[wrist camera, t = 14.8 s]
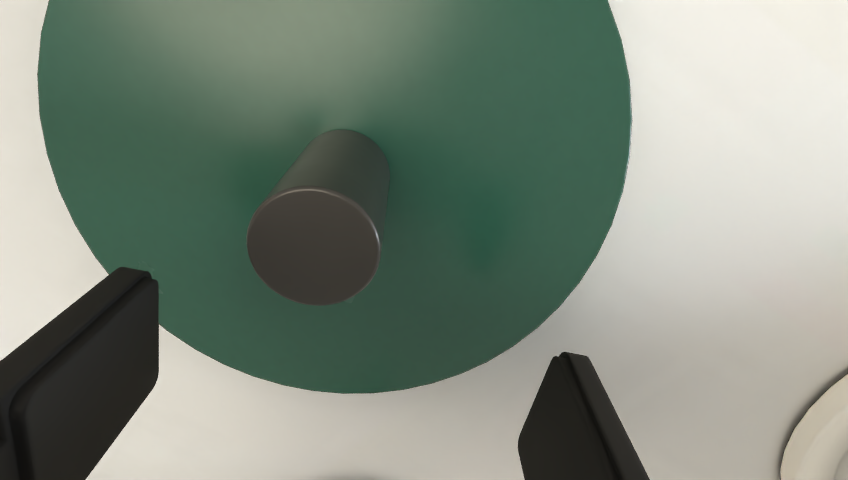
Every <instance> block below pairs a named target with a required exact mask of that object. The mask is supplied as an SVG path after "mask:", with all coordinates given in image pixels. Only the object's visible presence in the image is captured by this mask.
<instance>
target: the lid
mask: <svg viewBox="0 0 848 480" xmlns="http://www.w3.org/2000/svg"><path fill="white" fill-rule="evenodd" d="M37 75H38V94H39V112H40V120H41V125H42V130H43V135H44V140H45V146H46V151H47V155H48V158H49V161H50V164H51V168H52V171H53V174H54V177H55V180H56V183H57V186H58V189H59V192H60V194H61V196H62V198H63V200H64V202H65V204H66V207H67V209H68V211H69V213H70V215H71V217H72V219H73V221H74V224H75V226H76V227H77V229H78V230H79V232H80V234H81V235H82V237H83V238H84V240H85V242H86V243H87V245H88V246H89V248H90V250H91V251H92V253H93V254H94V256H95V257H96V259H97V260H98V261H99V262H100V264H101V265H102V266H103V268H104V269H105V270H106V271H107V273H108V274H109V275H110V274H111V273H112V272H113V271H115V270H116V269H117V268H119V267H127V268H132V269H138V270H143V271H148V272H149V273H150V274H151V276H152V279H155V280H157V281H158V285H159V324H160V325H161V326H162V327H163V328H165V329H166V330H167V331H168V332H170V333H171V334H173V335H174V336H176V337H177V338H179V339H180V340H182V341H183V342H185V343H186V344H188V345H189V346H191V347H192V348H194V349H196V350H197V351H199V352H201V353H203V354H205V355H207V356H209V357H211V358H213V359H215V360H216V361H218V362H220V363H222V364H224V365H227V366H229V367H231V368H234V369H236V370H239V371H241V372H244V373H246V374H249V375H251V376H254V377H257V378H261V379H264V380H267V381H271V382H274V383H278V384H281V385H285V386H290V387H296V388H301V389H306V390H311V391H321V392H332V393H343V394H345V393H379V392H388V391H397V390H404V389H409V388H413V387H418V386H423V385H427V384H432V383H435V382H438V381H441V380H444V379H447V378H450V377H453V376H456V375H459V374H461V373H464V372H466V371H468V370H470V369H472V368H475V367H477V366H479V365H481V364H483V363H486V362H488V361H489V360H491V359H493V358H494V357H496V356H498V355H499V354H501V353H503V352H504V351H506V350H508V349H509V348H511V347H513V346H514V345H515V344H517V343H518V342H519V341H521V340H522V339H523V338H525V337H526V336H527V335H529V334H530V333H531V332H533V331H534V330H535V329H537V328H538V327H539V326H540V325H541V324H542V323H543V322H544V321H545V320H546V319H547V318H548V317H549V316H550V315H551V314H552V313H553V312H554V311H556V310H557V309H558V308H559V307H560V305H561V304H562V303H563V302H564V301H565V299H566V298H567V297H568V296H569V295H570V293H571V292H572V291H573V290H574V289H575V287H576V286H577V285H578V284H579V282H580V281H581V279H582V278H583V276H584V275H585V273H586V272H587V270H588V268H589V267H590V265H591V264H592V262H593V261H594V259H595V258H596V256H597V254H598V252H599V250H600V248H601V246H602V244H603V242H604V240H605V238H606V236H607V233H608V231H609V229H610V227H611V225H612V222H613V219H614V216H615V213H616V210H617V207H618V204H619V201H620V198H621V195H622V192H623V188H624V183H625V178H626V173H627V168H628V162H629V157H630V144H631V129H632V110H631V94H630V80H629V75H628V70H627V65H626V60H625V55H624V50H623V45H622V40H621V37H620V34H619V31H618V28H617V26H616V23H615V20H614V17H613V14H612V11H611V8H610V6H609V3H608V0H49V3H48V7H47V11H46V15H45V19H44V23H43V27H42V31H41V40H40V51H39V63H38V74H37Z"/></svg>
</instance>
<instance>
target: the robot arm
mask: <svg viewBox="0 0 848 480" xmlns="http://www.w3.org/2000/svg"><path fill="white" fill-rule="evenodd" d="M158 372H159V285H158V281H157V280H155V279H152V276H151V274H150V273H149V272H148V271H143V270H138V269H132V268H127V267H119V268H117V269H116V270H115V271H113V272H112V273H111V274H110V275H108V276H107V277H106V278H105V279H103V280H102V281H101V282H100V283H98V284H97V285H96V286H95V287H93V288H92V289H91V290H90V291H88V292H87V293H86V294H84V295H83V296H82V297H81V298H79V299H78V300H77V301H76V302H74V303H73V304H72V305H71V306H69V307H68V308H67V309H66V310H64V311H63V312H62V313H61V314H59V315H58V316H57V317H56V318H54V319H53V320H52V321H51V322H49V323H48V324H47V325H45V326H44V327H43V328H42V329H40V330H39V331H38V332H37V333H35V334H34V335H33V336H31V337H30V338H29V339H28V340H26V341H25V342H24V343H23V344H21V345H20V346H19V347H18V348H16V349H15V350H14V351H13V352H11V353H10V354H9V355H8V356H6V357H5V358H4V359H3V360H1V361H0V480H85V479H86V478H87V477H88V475H89V474H90V473H91V471H92V470H93V469H94V467H95V466H96V465H97V463H98V462H99V461H100V459H101V458H102V457H103V455H104V454H105V453H106V451H107V450H108V448H109V447H110V446H111V444H112V443H113V442H114V440H115V439H116V438H117V436H118V435H119V434H120V432H121V431H122V430H123V428H124V427H125V426H126V424H127V423H128V422H129V420H130V419H131V418H132V416H133V415H134V413H135V412H136V411H137V409H138V408H139V407H140V405H141V404H142V403H143V401H144V400H145V399H146V397H147V396H148V395H149V393H150V392H151V391H152V389H153V388H154V386H155V384H156V381H157V378H158ZM518 451H519V456H520V461H521V465H522V470H523V474H524V478H525V480H650V479H649V477H648V475H647V473H646V471H645V469H644V467H643V465H642V463H641V461H640V459H639V457H638V455H637V453H636V451H635V449H634V447H633V445H632V443H631V441H630V439H629V437H628V435H627V433H626V431H625V429H624V427H623V425H622V423H621V421H620V419H619V417H618V415H617V413H616V411H615V409H614V407H613V405H612V403H611V401H610V399H609V397H608V395H607V393H606V391H605V389H604V387H603V385H602V383H601V381H600V379H599V377H598V375H597V373H596V371H595V369H594V367H593V365H592V363H591V361H590V359H589V358H588V357H587V356H584V355H579V354H574V353H569V352H562V353H561V354H560V356H559V357H558V356H555V357H553V358H552V360H551V362H550V365H549V367H548V369H547V372H546V374H545V376H544V379H543V381H542V383H541V386H540V388H539V391H538V393H537V395H536V398H535V400H534V402H533V405H532V407H531V409H530V412H529V414H528V416H527V419H526V421H525V423H524V426H523V428H522V431H521V433H520V436H519V440H518ZM780 473H781V480H848V374H847V375H846V376H844V377H843V378H842V379H840V380H839V381H838V382H837V383H835V384H834V385H833V386H831V387H830V388H829V389H828V390H827V391H826V392H825V393H824V394H823V395H822V396H821V397H820V398H819V399H818V400H817V401H816V402H815V403H814V404H813V405H812V406H811V407H810V408H809V410H808V411H807V412H806V414H805V415H804V417H803V418H802V419H801V421H800V422H799V424H798V425H797V426H796V428H795V429H794V431H793V433H792V435H791V438H790V440H789V442H788V444H787V446H786V448H785V451H784V455H783V460H782V465H781V470H780Z"/></svg>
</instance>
